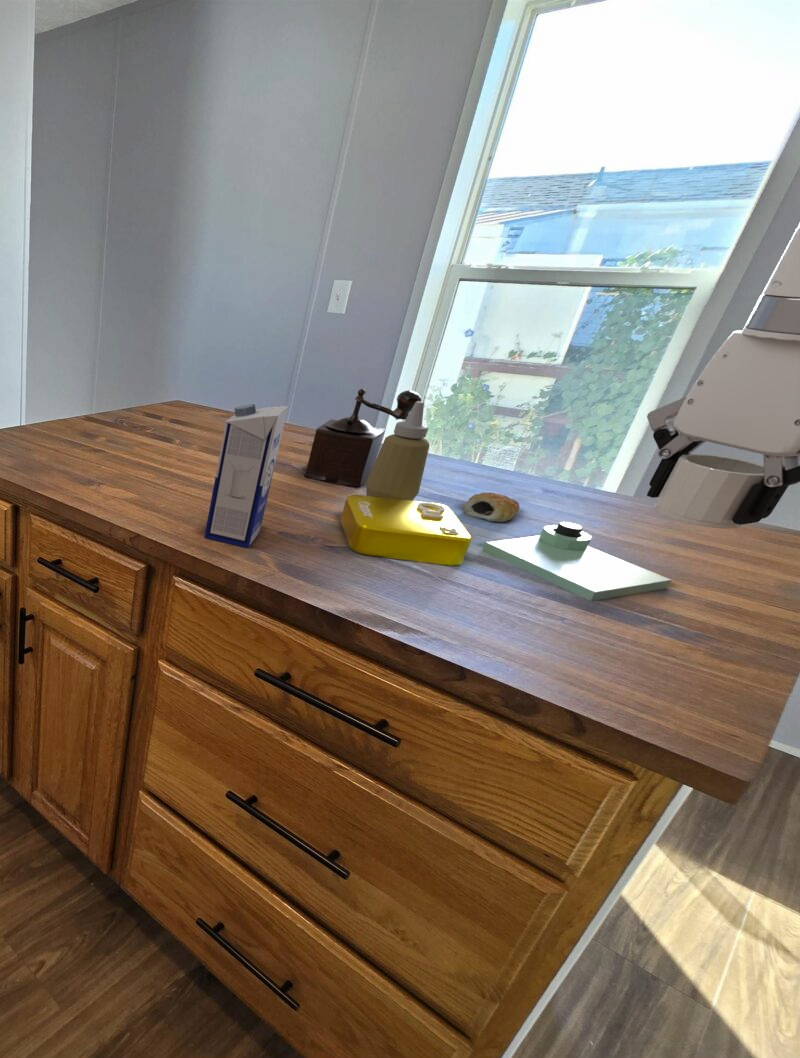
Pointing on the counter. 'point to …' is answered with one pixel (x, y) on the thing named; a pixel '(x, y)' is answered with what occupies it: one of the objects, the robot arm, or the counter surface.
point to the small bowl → (707, 489)
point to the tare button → (569, 529)
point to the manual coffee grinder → (352, 443)
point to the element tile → (404, 530)
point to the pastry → (491, 507)
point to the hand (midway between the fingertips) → (701, 507)
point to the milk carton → (244, 474)
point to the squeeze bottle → (401, 459)
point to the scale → (576, 565)
